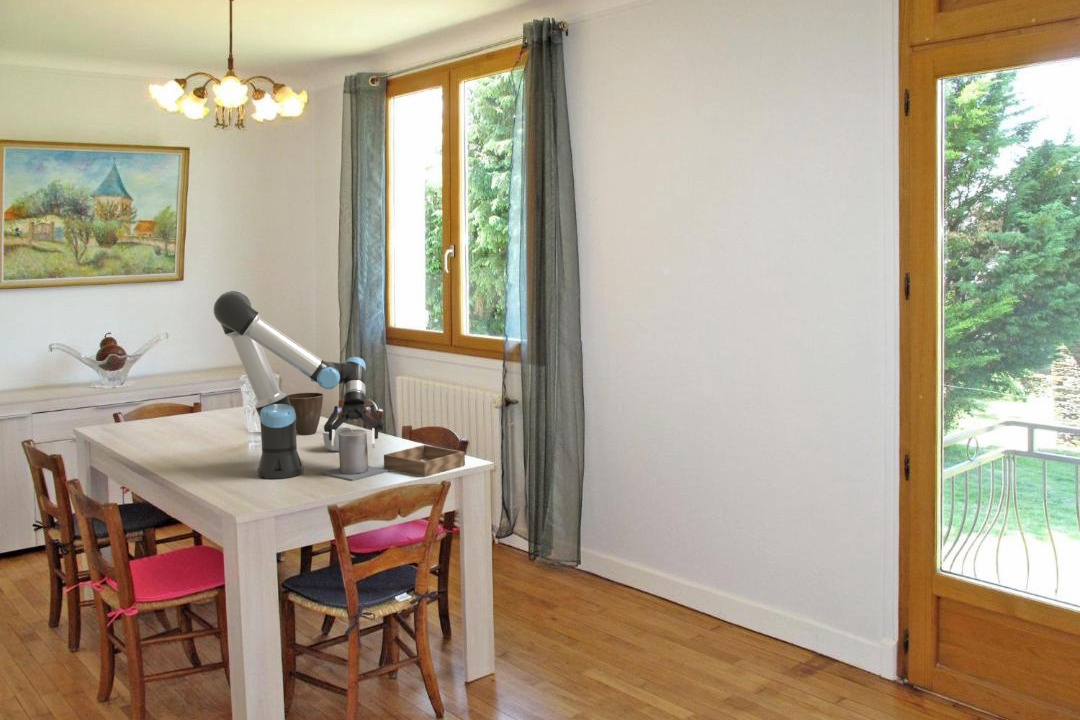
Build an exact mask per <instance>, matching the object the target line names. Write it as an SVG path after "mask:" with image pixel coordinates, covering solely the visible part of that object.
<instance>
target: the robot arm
mask: <svg viewBox="0 0 1080 720" xmlns="http://www.w3.org/2000/svg"><path fill="white" fill-rule="evenodd" d="M213 314H214V317H215V320H217V322H218V323H219V324H220V325H221V328H222V330H223V332H224V334H225V336H226V337H229V338H230V339H231V341H232V342H233V345H234V347H235V349H236V352H237V355H238V357H239V359H240V362H241V365H242V366H243V369H244V371H245V374H246V376H247V379H248V381H249V384H250V386H251V388H252V391H253V394H254V395H255V398H256V403H255V406H254V407H255V409H256V412H257V414H258V417H259V421H260V435H261V436H260V437H261V438H260V439H261V456H260V459H259V463H258V467H257V476H258V477H259V476H260V477H259V478H261V477H264V478H263V479H268V478H280V479H287V477H289V478H294V477H297V475H298V476H301V473H302V474H303V473H304V465H303V464H302V460H301V458H300V456H299V452H298V448H297V445H298V444H297V431H296V413H295V409H294V408H293V407H292V406H291V404H290V402H289V399H288V397H287V395H288V394H287V393H285V392H283V391H281V389H280V387H279V384H278V382H277V380H276V377H275V373H274V372H273V369H272V367H271V364H270V362H269V359H268V357H267V354H266V353H265V350H264V348H265V349H266V350H268V351H269V352H271V353H272V354H274V355H275V356H277V357H278V358H280V359H281V360H283V361H284V362H286V363H287V364H288V365H291V366H292V367H293V368H295V369H296V370H298V371H299V372H301V373H302V374H304V376H307V377H308V378H310V381H311V382H316V383H317V384H318V386H320V387H321V388H322V389H324V390H332V389H333V390H334V389H335V388H336V387H337V386H338V385H339V384H341V385H344V387H343V406H342V407H339V406H337V405H335V406H334V407H333V411H332V413H331V414H330V416H329V418H328V419H327V421H326V422H325V424H324V425H323V431H325V432H329V440H332V450H335V430H336V429H337V428H339V427H341V426H342V424H343V423H345V422H346V421H348V420H350V421H351V420H359V419H361V420H362V421H363V422H365V423H366V425H368V427H370V428H371V447H372V449H375V448H376V447H375V446H376V445H375V443H376V441H375V440H376V439H377V440H378V438H379V431H383V430H384V424H383V422H382V420H381V418H380V416H379V415H378V414H377V412H376V411H375V407H374V404H371V405H370V406H366V390H367V389H366V387H367V386H366V381H367V367H366V366H367V365H366V362H365V360H364V359H363V358H361V357H358V356H353V357H349V358H347V359H346V360H345V362H333V361H324V360H323V359H322V358H320V357H319V356H317V354H314V353H313V352H311V351H310V350H309V349H307V348H305V347H304V346H303V345H301V344H300V343H298V342H296V341H295V340H294V339H292V338H291V337H289V336H288V335H287V334H285V333H283V332H282V331H280V329H277V328H276V327H275V326H274V325H272V324H270V323H269V322H267V321H266V320H265V319H263V318H262V317H261V315H260V313H259V312H258V311H257V310H255V309H254V308H253V307H252V302H251V301H250V299H249V298H248V296H246V295H245V294H244V293H242V292H240V291H238V290H230V291H226V292H224V293H222V294H220V296H219V297H218V298H217V299H216V301H215V302H214V305H213ZM367 412H368V413H369V414H370V415H371V416H372V418H373V420H372V419H371V417H369V416H368V415H367V414H366V413H367ZM341 413H342V414H341ZM340 414H341V416H339V418H337V417H338V415H340ZM374 421H375V422H374ZM293 476H294V477H293Z"/></svg>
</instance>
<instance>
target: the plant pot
mask: <svg viewBox="0 0 1080 720" xmlns="http://www.w3.org/2000/svg"><path fill="white" fill-rule="evenodd" d="M287 397H288V399H289V402H290V404H291V406H292V407H293V408H294V409H295V413H296V434H297V435H299V434H300V435H299V436H308V434H310V435H313V434H316V433H317V431H318V427H319V424H320V419H321V415H322V410H323V401H324V394H323V393H321V392H298V393H291V394H289V395H288V394H287Z"/></svg>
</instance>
